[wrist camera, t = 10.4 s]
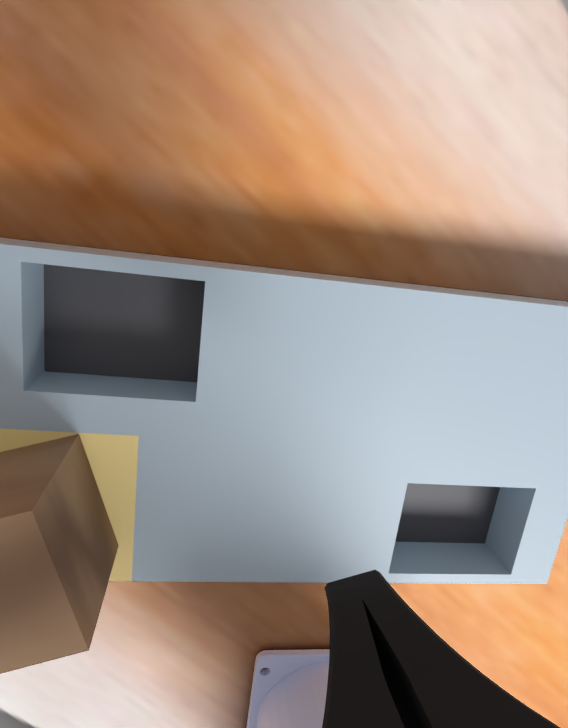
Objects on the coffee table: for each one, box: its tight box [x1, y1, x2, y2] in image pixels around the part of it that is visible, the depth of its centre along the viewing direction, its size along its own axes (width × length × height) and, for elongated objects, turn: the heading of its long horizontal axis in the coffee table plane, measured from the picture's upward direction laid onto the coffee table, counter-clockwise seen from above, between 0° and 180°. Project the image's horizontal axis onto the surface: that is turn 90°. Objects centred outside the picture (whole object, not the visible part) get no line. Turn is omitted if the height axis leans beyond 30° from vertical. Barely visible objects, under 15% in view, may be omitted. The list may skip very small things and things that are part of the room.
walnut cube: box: [0, 434, 119, 674], centre depth 16 cm, size 5×5×5 cm
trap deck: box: [0, 237, 568, 584], centre depth 21 cm, size 13×26×2 cm, turn 83°
